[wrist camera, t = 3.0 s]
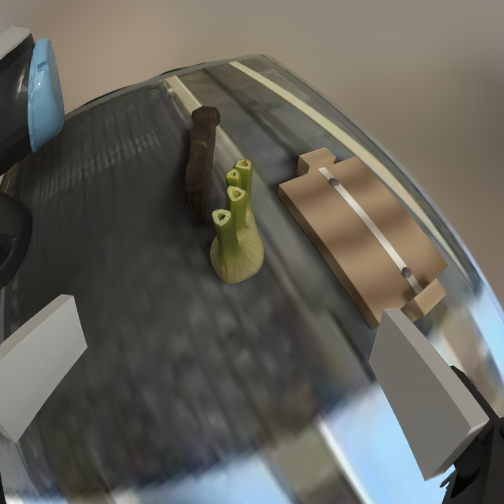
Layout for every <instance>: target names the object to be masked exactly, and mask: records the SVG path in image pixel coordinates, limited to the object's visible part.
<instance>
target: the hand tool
mask: <svg viewBox="0 0 504 504" xmlns="http://www.w3.org/2000/svg"><path fill="white" fill-rule="evenodd" d="M192 118H193V120H194V126H193V129H192V132H190V135H189V138H190V141H191V146H190V154H189V163H188V164H187V166H186V171H185V190H186V197H187V199H188V205H189V208H190V210H191V211H192V213H193V217H194V220H195V224H196V226H197V227H198V226H199V225H200V224H201V223H202V220H203V218H204V215H205V213H206V209H207V207H208V202H209V198H210V194H211V186H210V185H211V174H212V165H213V152H214V146H215V135H216V132H215V131H216V126H217V125H218V124H219V123H220V114H219V111H218V109H217V108H215V107H209V106H207V107H205V106H202V107H199V108H198V109H196V110H194V111H193V112H192Z"/></svg>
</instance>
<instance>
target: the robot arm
mask: <svg viewBox="0 0 504 504" xmlns="http://www.w3.org/2000/svg"><path fill="white" fill-rule="evenodd" d="M64 119H65V113H64V104H63V97H62V91H61V85H60V80H59V75H58V69H57V64H56V60H55V55H54V51H53V49H52V46H51V42H50V40H49V39H47V38H44V39H39V40H37V41H36V43H35V42H34V40H33V37H32V34H31V31H30V30H29V29H26V28H20V27H15V26H14V25H13V24H12V22H11V20H10V16H9V13H8V9H7V6H6V2H5V0H0V176H1V175H2V174H4V173H5V172H6V171H8V170H9V169H10V168H11V167H13V166H14V165H15V164H17V163H18V162H20V161H21V160H22V159H24V158H25V157H27V156H28V155H29V154H31V153H32V152H33V153H35V152H37V150H38V148H39V147H41V146H42V145H44V144H45V143H47V142H48V141H49V140H51V139H52V138H54V137H55V136H57V135H58V134H59V132H60V131H61V129H62V127H63V125H64ZM31 231H32V218H31V214H30V212H29V211H28V209H27V208H26V207H25V206H24V205H23V204H22V202H20V201H19V200H18V199H15V198H13V197H11V196H9V195H8V194H6V193H4V192H2V191H0V289H1V288H3V287H4V286H5V285H6V284H7V283H8V281H9V280H10V279H11V278H12V276H13V275H14V274H15V272H16V271H17V269H18V267H19V265H20V264H21V262H22V260H23V257H24V255H25V253H26V250H27V247H28V244H29V241H30V237H31ZM86 348H87V344H86V341H85V338H84V334H83V331H82V328H81V324H80V320H79V316H78V313H77V309H76V304H75V300H74V296H71V295H64V294H61V295H60V296H58V297H57V298H56V299H55V300H53V301H52V302H51V303H49V304H48V305H47V306H46V307H44V308H43V309H42V310H41V311H39V312H38V313H37V314H36V315H35V316H33V317H32V318H31V319H30V320H28V321H27V322H26V323H25V324H24V325H22V326H21V327H20V328H19V329H18V330H17V331H15V332H14V333H13V334H12V335H11V336H10V337H8V338H7V339H6V340H5V341H4V342H3V343H2V344H1V345H0V431H1V432H2V434H3V435H4V436H5V437H7V438H8V439H10V440H11V441H13V442H15V443H17V442H18V440H19V438H20V437H21V435H22V434H23V432H24V431H25V430H26V428H27V427H28V425H29V424H30V422H31V421H32V419H33V418H34V416H35V415H36V414H37V412H38V411H39V409H40V408H41V407H42V405H43V404H44V402H45V401H46V400H47V398H48V397H49V396H50V394H51V393H52V392H53V390H54V389H55V388H56V386H57V385H58V384H59V382H60V381H61V380H62V378H63V377H64V376H65V375H66V373H67V372H68V371H69V369H70V368H71V367H72V366H73V364H74V363H75V362H76V361H77V359H78V358H79V357H80V356H81V354H82V353H83V352H84V351H85V349H86ZM369 364H370V366H371V368H372V370H373V372H374V374H375V376H376V378H377V379H378V381H379V383H380V385H381V387H382V389H383V391H384V393H385V395H386V397H387V399H388V401H389V403H390V405H391V407H392V409H393V412H394V414H395V416H396V418H397V420H398V422H399V424H400V426H401V428H402V430H403V433H404V435H405V437H406V439H407V441H408V443H409V446H410V448H411V450H412V452H413V455H414V457H415V459H416V461H417V464H418V466H419V468H420V471H421V473H422V475H423V478H424V480H425V481H427V480H430V479H432V478H434V477H437V476H439V475H441V474H444V473H445V472H446V471H447V469H448V468H449V467H450V466H451V465H452V464H454V466H455V468H456V469H455V470H454V471H453V472H452V473H451V474H450V475H449V476H448V477H447V478H446V479H445V480H444V481H443V482H442V484H441V485H440V487H443V486H444V485H446V484H447V483H448V482H449V484H448V486H447V487H446V489H447V491H446V493H445V496H444V499H443V502H442V504H504V417H502V418H499V417H498V416H497V415H496V413H495V412H494V411H493V409H492V408H491V407H490V405H489V404H488V403H487V401H486V400H485V399H484V397H483V396H482V395H481V394H480V392H479V391H477V388H476V387H475V386H474V385H473V384H471V381H470V380H469V379H468V377H467V376H466V375H465V374H464V373H463V372H462V371H460V370H459V369H457V368H456V367H455V366H449V365H448V364H447V363H446V362H445V360H444V359H443V358H442V357H441V356H440V354H439V353H438V352H437V351H436V350H435V348H434V347H433V346H432V345H431V344H430V343H429V341H428V340H427V339H426V338H425V337H424V336H423V335H422V333H421V332H420V331H419V330H418V329H417V328H416V327H415V326H414V324H413V323H412V322H411V321H410V320H409V319H408V318H407V317H406V316H405V314H404V313H403V312H402V311H401V310H400V309H399V308H388V309H383V311H382V315H381V319H380V323H379V327H378V331H377V334H376V338H375V342H374V345H373V349H372V352H371V355H370V358H369ZM0 504H6V501H5V497H4V492H3V486H2V481H1V474H0Z"/></svg>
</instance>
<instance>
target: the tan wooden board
mask: <svg viewBox="0 0 504 504" xmlns="http://www.w3.org/2000/svg"><path fill="white" fill-rule="evenodd" d="M335 158H336V157H335V156H334V155H333V154H332V153H331V152H330V151H329V150H328V149H327V148H326V147H325V148H322V149H318V150H315V151H312V152H309V153H306V154H303V155H300V156H299V161H298V167H297V172H296V175H297V176H298V178H295V179H292V180H290V181H287V182H285V183H282V184H279V188H278V198H279V199H280V200H281V201H282V203H283V204H284V205H285V207H286V208H287V209H288V211H289V212H290V213H291V215H292V216H293V217H294V219H295V220H296V221H297V223H298V224H299V225H300V227H301V228H302V229H303V231H304V232H305V233H306V235H307V236H308V238H309V239H310V240H311V242H312V243H313V244H314V246H315V247H316V249H317V250H318V251H319V253H320V254H321V256H322V257H323V258H324V260H325V261H326V263H327V264H328V265H329V267H330V268H331V270H332V271H333V273H334V274H335V275H336V277H337V278H338V280H339V281H340V283H341V284H342V286H343V287H344V289H345V290H346V292H347V293H348V294H349V296H350V297H351V299H352V300H353V302H354V303H355V305H356V306H357V308H358V309H359V311H360V312H361V314H362V316H363V317H364V319H365V320H366V322H367V323H368V325H369V326H370V328H371V329H374V328H376V327H378V326H379V323H380V319H381V315H382V311H383V309H388V308H399V309H400V310H401V311H402V312H403V313H404V314H405V316H406V317H407V318H408V319H409V320H410V321H411V322H413V321H415V320H417V319H419V318H421V317H423V316H424V315H426V314H427V313H428V312H429V311H430V310H431V309H432V308H433V307H434V306H435V305H436V304H437V303H438V302H439V301H440V300H441V299H442V298H443V297H444V296H445V295H446V293H445V291H444V290H443V288H442V286H441V285H440V283H439V282H438V280H437V279H435V278H436V277H437V276H438V275H439V274H440V273H441V272H442V271H443V270H444V269H445V268H446V267H447V266H448V265H447V263H446V262H445V261H444V259H443V258H442V256H441V255H440V254H439V252H438V251H437V249H436V248H435V247H434V245H433V244H432V243H431V241H430V240H429V239H428V237H427V236H426V235H425V233H424V232H423V231H422V230H421V228H420V227H419V226H418V225H417V223H416V222H415V221H414V220H413V218H412V217H411V216H410V215H409V214H408V212H407V211H406V210H405V209H404V208H403V206H402V205H401V204H400V203H399V202H398V201H397V199H396V198H395V197H394V196H393V195H392V194H391V193H390V192H389V190H388V189H387V188H386V187H385V186H384V185H383V184H382V183H381V182H380V181H379V180H378V179H377V177H376V176H375V175H374V174H373V173H372V172H371V171H370V170H369V169H368V168H367V167H366V166H365V165H364V164H363V163H362V162H361V161H360V160H359V159H358V158H357V157H353V158H350V159H347V160H344V161H341V162H338V163H336V164H334V161H335ZM434 279H435V280H434Z"/></svg>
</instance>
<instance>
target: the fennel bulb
mask: <svg viewBox="0 0 504 504" xmlns="http://www.w3.org/2000/svg"><path fill="white" fill-rule="evenodd" d="M225 178H226V184H227V195H226V210H223V209H215V211H213V213H212V220H213V224H214V228H215V232H216V237H215V239H214V241H213V242H212V245H211V250H210V258H211V263H212V266H213V268H214V269H215V271H216V273H217V275H218V276H219V277H220V278H221V279H222V280H223V281H224V282H225V283H227V284H236V283H239V282H241V281H243V280H246V279H248V278H250V277H251V276H253V275H255V274H256V273H257V272H258V271H259V270H260V268H261V266H262V264H263V261H264V247H263V243H262V241H261V239H260V237H259V234H258V231H257V228H256V224H255V219H254V216H253V212H252V208H251V183H252V164H251V162H250V161H249V159H240V160H238V161H237V162H236V163H235V164H234V167H233V169H231V170H230V171H228V173H227V174H226V175H225Z"/></svg>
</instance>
